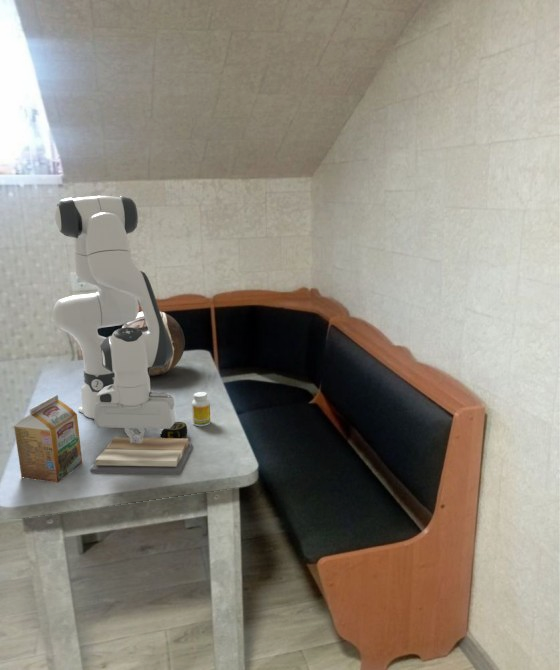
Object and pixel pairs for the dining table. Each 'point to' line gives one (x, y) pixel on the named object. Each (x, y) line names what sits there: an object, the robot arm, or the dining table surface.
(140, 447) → the oak plank
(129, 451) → the ash plank
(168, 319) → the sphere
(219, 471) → the dining table surface
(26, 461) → the milk carton
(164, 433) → the tape measure
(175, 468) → the board
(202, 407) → the supplement bottle
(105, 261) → the robot arm
